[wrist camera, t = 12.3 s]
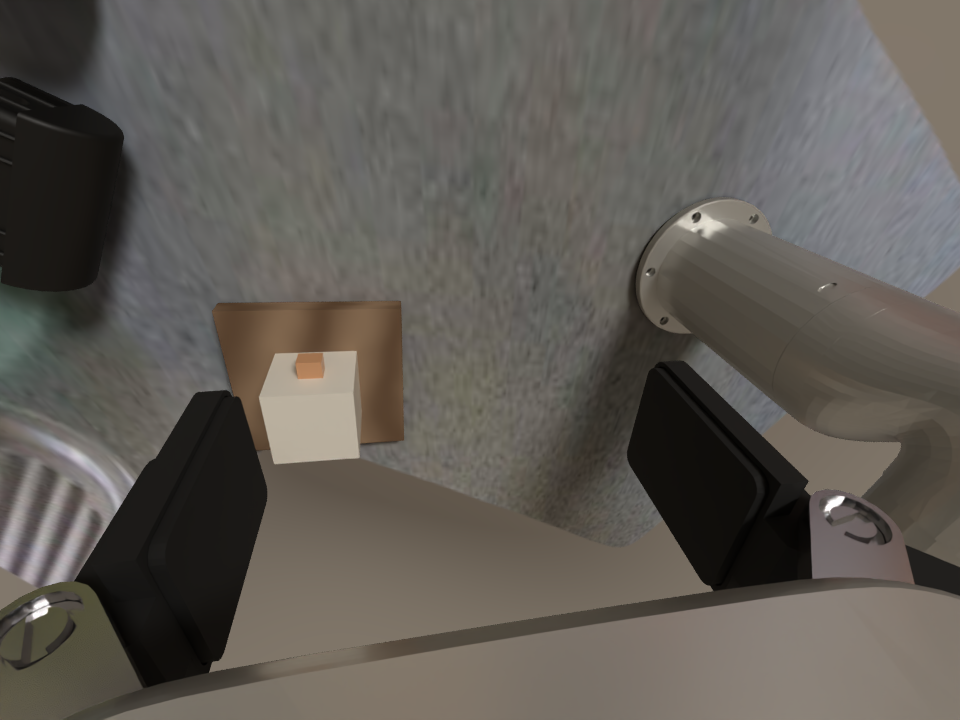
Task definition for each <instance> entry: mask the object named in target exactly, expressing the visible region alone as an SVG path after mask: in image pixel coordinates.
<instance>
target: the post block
mask: <svg viewBox="0 0 960 720" xmlns="http://www.w3.org/2000/svg"><path fill="white" fill-rule="evenodd" d="M212 313H213V317H214V321H215V325H216V329H217V333H218V337H219V340H220V344H221V348H222V352H223V356H224V360H225V364H226V368H227V371H228V375H229V379H230V383H231V387H232V391H233V395H234V397H235V396H238V397H239V398H240V399H241V401H242V404H243V408H244V411H245V415H246V418H247V421H248V425H249V428H250V432H251V435H252V438H253V442H254V445H255V448H256V450H271V449H270V444H269V440H268V436H267V431H266V427H265V422H264V418H263V414H262V409H261V405H260V400H259V396H260V393H261V390H262V388H263V385H264V382H265V379H266V377H267V374H268V371H269V369H270V366H271V363H272V361H273V358H274V355H275V354H279V353H308V352H338V351H357V360H358V372H359V384H360V396H361V408H362V417H361V436H360V443H373V442H387V441H402V440H404V417H403V369H402V320H401V301H360V302H270V303H218V304H217V305H216V307H215V308H214V309H213V311H212Z"/></svg>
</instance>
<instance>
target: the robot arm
mask: <svg viewBox="0 0 960 720" xmlns="http://www.w3.org/2000/svg"><path fill="white" fill-rule="evenodd" d="M635 286H636V297H637V300H638V303H639V306H640V308H641V310H642V311H643V313H644V315H645V316H646V317H647V318H648V319H649V320H650V321H651V322H652V323H654V324H655V325H656V326H657V327H659V328H661V329H663V330H665V331H668V332H672V333H677V334H691V333H693V334H694V335H695V336H696V337H697V338H699V339H700V340H701V341H702V342H703V343H705V344H706V345H707V346H708V347H709V348H710V349H712V350H713V351H714V352H715V353H716V354H718V355H719V356H720V357H721V358H722V359H724V360H725V361H726V362H727V363H728V364H730V365H731V366H732V367H733V368H734V369H735V370H737V371H738V372H739V373H740V374H741V375H743V376H744V377H745V378H746V379H747V380H749V381H750V382H751V383H752V384H753V385H755V386H756V387H757V388H758V389H759V390H760V391H762V392H763V393H764V394H765V395H766V396H768V397H769V398H770V399H771V400H772V401H774V402H775V403H776V404H777V405H779V406H780V407H781V408H782V409H784V410H785V411H786V412H787V413H788V414H790V415H791V416H792V417H793V418H794V419H796V420H797V421H798V422H800V423H801V424H803V425H805V426H806V427H808V428H810V429H812V430H814V431H816V432H819V433H821V434H824V435H827V436H830V437H834V438H839V439H845V440H853V441H864V442H900V443H901V450H900V452H899V454H898V456H897V457H896V458H895V459H894V461H893V462H892V463H891V464H890V466H889V467H888V468H887V469H886V470H885V471H884V472H883V475H882V476H881V477H880V478H879V479H878V480H877V481H876V482H875V484H874V485H873V486H872V487H871V488H870V489H869V490H868V491H867V492H866V493H865V494H864V495H863V496H862V497H861V498H860V497H857V496H855V495H853V494H850V493H846V492H843V491H839V490H829V489H825V490H821V491H816V492H815V493H814V494H813V495H811V496H810V495H809V494H808V493H807V492H806V491H805V490H804V488H805V487H806V485H807V483H808V480H807V479H806V478H805V477H804V476H803V475H802V474H801V473H799V471H798V470H797V469H795V467H793V466H792V465H791V464H790V463H789V462H788V461H787V460H786V459H785V458H784V457H783V456H782V455H781V454H780V453H779V452H778V451H777V450H776V449H775V448H774V447H773V446H772V445H771V444H770V443H769V442H768V441H766V439H765V438H763V437H762V436H761V435H760V434H759V433H758V432H757V431H756V430H755V429H754V428H753V427H752V426H751V425H750V424H749V423H748V422H747V421H746V420H745V419H744V418H743V417H742V416H741V415H740V414H739V413H738V412H737V411H736V410H734V409H733V408H732V407H731V406H730V405H729V404H728V403H727V402H726V401H725V400H724V399H723V398H722V397H721V396H720V395H719V394H718V393H717V392H716V391H715V390H714V389H713V388H712V387H711V386H710V385H709V384H708V383H707V382H706V381H704V380H703V379H702V378H701V377H700V376H699V375H698V374H697V373H696V372H695V371H694V370H693V369H692V368H691V367H690V366H689V365H688V364H687V363H686V362H684V361H668V362H659V363H657V364H656V366H655V368H653V369H651V370H650V371H649V373H648V376H647V380H646V384H645V387H644V391H643V395H642V398H641V402H640V406H639V409H638V413H637V417H636V420H635V424H634V428H633V431H632V435H631V439H630V443H629V446H628V450H627V458H628V462H629V464H630V466H631V468H632V470H633V471H634V473H635V474H636V476H637V478H638V479H639V481H640V482H641V484H642V486H643V487H644V489H645V491H646V492H647V494H648V495H649V497H650V499H651V500H652V502H653V503H654V505H655V507H656V508H657V510H658V512H659V513H660V515H661V516H662V518H663V520H664V521H665V523H666V524H667V526H668V527H669V529H670V531H671V533H672V534H673V535H674V537H675V539H676V541H677V542H678V544H679V545H680V547H681V549H682V550H683V552H684V553H685V555H686V557H687V558H688V560H689V562H690V563H691V565H692V566H693V568H694V570H695V571H696V573H697V574H698V576H699V578H700V579H701V580H702V582H703V583H705V584H706V585H710V586H711V588H712V589H713V591H712V592H706V593H699V594H692V595H686V596H679V597H673V598H666V599H659V600H652V601H646V602H639V603H633V604H626V605H619V606H613V607H606V608H599V609H593V610H587V611H580V612H574V613H567V614H561V615H554V616H548V617H542V618H535V619H529V620H522V621H516V622H509V623H503V624H497V625H491V626H484V627H477V628H471V629H465V630H458V631H452V632H446V633H440V634H434V635H427V636H421V637H415V638H409V639H402V640H397V641H390V642H384V643H378V644H372V645H365V646H359V647H353V648H347V649H340V650H334V651H328V652H322V653H316V654H310V655H304V656H299V657H293V658H287V659H282V660H276V661H271V662H266V663H259V664H254V665H249V666H243V667H237V668H232V669H226V670H221V671H215V672H210V673H209V671H210V667H211V664H212V662H213V661H219V660H220V659H221V657H222V655H223V653H224V650H225V647H226V644H227V640H228V636H229V633H230V629H231V626H232V622H233V619H234V615H235V612H236V608H237V605H238V601H239V597H240V594H241V590H242V587H243V583H244V580H245V576H246V573H247V569H248V566H249V562H250V559H251V555H252V552H253V548H254V544H255V541H256V537H257V534H258V530H259V527H260V523H261V519H262V516H263V513H264V509H265V506H266V502H267V486H266V482H265V479H264V475H263V472H262V469H261V465H260V462H259V459H258V455H257V452H256V448H255V445H254V442H253V438H252V435H251V432H250V428H249V425H248V421H247V418H246V415H245V411H244V408H243V404H242V401H241V399H240V398H239V397H238V396H235V397H232V395H231V394H230V392H229V391H227V390H223V391H207V392H198V393H196V394H195V395H194V396H193V398H192V399H191V401H190V403H189V404H188V406H187V407H186V409H185V411H184V412H183V414H182V416H181V417H180V419H179V421H178V422H177V424H176V426H175V427H174V429H173V431H172V432H171V434H170V436H169V437H168V439H167V441H166V442H165V444H164V446H163V447H162V449H161V451H160V452H159V454H158V455H157V457H156V459H153V460H152V461H150V462H149V463H148V464H147V465H146V466H145V468H144V469H143V471H142V472H141V474H140V475H139V477H138V479H137V480H136V482H135V484H134V485H133V487H132V488H131V490H130V492H129V493H128V495H127V496H126V498H125V500H124V501H123V503H122V505H121V506H120V508H119V509H118V511H117V513H116V514H115V516H114V517H113V519H112V521H111V522H110V524H109V526H108V527H107V529H106V530H105V532H104V534H103V535H102V537H101V539H100V540H99V542H98V543H97V545H96V547H95V548H94V550H93V551H92V553H91V555H90V556H89V558H88V560H87V561H86V563H85V564H84V566H83V568H82V569H81V571H80V572H79V574H78V576H77V577H76V579H75V581H74V582H59V583H56V584H52V585H48V586H45V587H41V588H39V589H37V590H35V591H33V592H31V593H28V594H26V595H24V596H22V597H20V598H18V599H17V600H15V601H14V602H12V603H11V604H9V605H8V606H6V607H5V608H3V609H1V611H0V720H960V312H957V311H955V310H952V309H949V308H947V307H944V306H941V305H939V304H936V303H933V302H931V301H929V300H926V299H924V298H922V297H919V296H917V295H914V294H912V293H910V292H907V291H905V290H902V289H900V288H897V287H895V286H892V285H890V284H887V283H885V282H883V281H880V280H878V279H875V278H873V277H871V276H868V275H866V274H863V273H861V272H859V271H856V270H854V269H852V268H849V267H847V266H844V265H842V264H840V263H837V262H835V261H832V260H830V259H828V258H825V257H823V256H820V255H818V254H816V253H813V252H811V251H808V250H806V249H804V248H801V247H799V246H796V245H794V244H792V243H789V242H787V241H784V240H782V239H780V238H777V237H775V236H772V231H771V228H770V225H769V222H768V220H767V219H766V217H765V216H764V214H763V213H762V212H761V211H760V210H759V209H757V208H756V207H755V206H754V205H751V204H749V203H747V202H744V201H742V200H738V199H735V198H729V197H717V198H711V199H705V200H703V201H700V202H697V203H695V204H692V205H690V206H689V207H687V208H685V209H683V210H682V211H680V212H678V213H677V214H676V215H675V216H673V217H672V218H671V219H670V220H668V221H667V222H666V223H665V224H664V225H663V226H662V227H661V228H660V230H659V231H658V232H657V233H656V234H655V235H654V237H653V238H652V240H651V241H650V243H649V244H648V246H647V248H646V250H645V252H644V254H643V256H642V258H641V260H640V264H639V267H638V270H637V276H636V284H635Z"/></svg>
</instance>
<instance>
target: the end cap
mask: <svg viewBox="0 0 960 720" xmlns="http://www.w3.org/2000/svg"><path fill="white" fill-rule="evenodd" d="M123 140H124V135H123V132H122V130H121V129H120V128H119V127H118V126H117V125H116V124H115V123H114V122H112V121H111V120H110V119H108V118H107V117H105V116H104V115H102V114H100V113H98V112H97V111H95V110H93V109H91V108H89V107H87V106H85V105H83V104H80V105H73V104H71V103H69V102H67V101H64V100H62V99H60V98H58V97H56V96H53V95H51V94H49V93H47V92H45V91H43V90H40V89H38V88H36V87H34V86H32V85H30V84H27V83H25V82H23V81H21V80H19V79H16V78H12V77H4V78H1V79H0V266H1V267H2V275H1V283H3V284H7V285H10V286H14V287H19V288H24V289H29V290H38V291H53V292H57V291H70V290H76V289H80V288H83V287H86V286H88V285H90V284H92V283H93V282H94V281H95V280H96V278H97V275H98V271H99V266H100V261H101V256H102V250H103V245H104V240H105V235H106V229H107V224H108V219H109V214H110V208H111V203H112V198H113V193H114V188H115V182H116V177H117V172H118V167H119V161H120V156H121V151H122V146H123Z"/></svg>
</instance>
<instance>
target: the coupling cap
mask: <svg viewBox="0 0 960 720" xmlns="http://www.w3.org/2000/svg"><path fill="white" fill-rule="evenodd" d="M259 400H260V405H261V409H262V414H263V418H264V422H265V427H266V431H267V436H268V440H269V444H270V449H271V453H272V457H273V462H274V464H284V463H298V462H311V461H324V460H337V459H350V458H359V455H360V436H361V417H362V408H361V396H360V384H359V372H358V360H357V351H338V352H308V353H279V354H275V355H274V358H273V361H272V363H271V366H270V369H269V371H268V374H267V377H266V379H265V382H264V385H263V388H262V390H261V393H260V396H259Z"/></svg>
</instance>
